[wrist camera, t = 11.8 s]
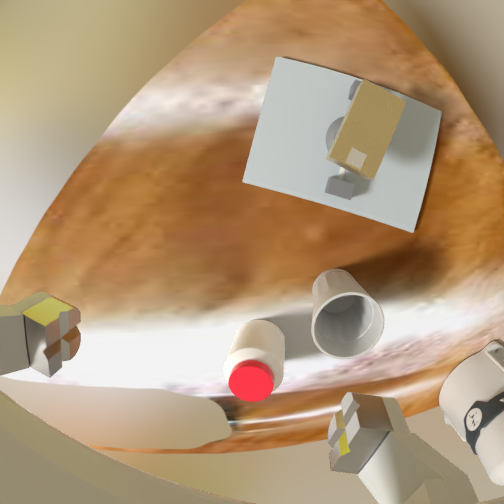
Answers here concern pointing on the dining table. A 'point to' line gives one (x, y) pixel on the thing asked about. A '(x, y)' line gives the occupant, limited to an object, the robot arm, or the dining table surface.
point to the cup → (344, 316)
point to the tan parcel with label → (366, 130)
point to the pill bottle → (255, 360)
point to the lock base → (320, 141)
